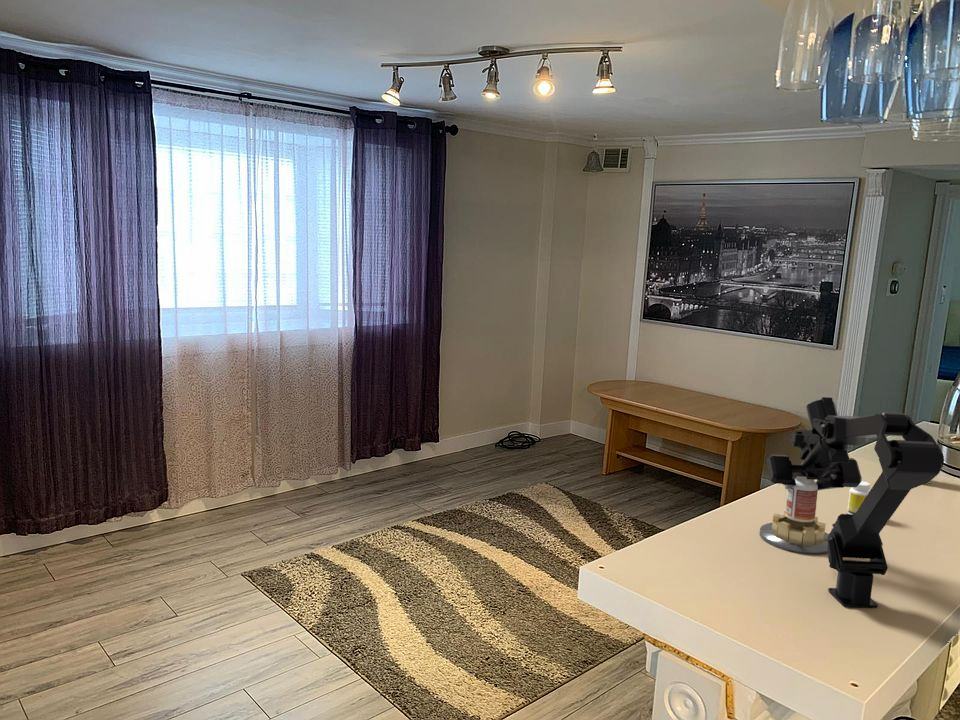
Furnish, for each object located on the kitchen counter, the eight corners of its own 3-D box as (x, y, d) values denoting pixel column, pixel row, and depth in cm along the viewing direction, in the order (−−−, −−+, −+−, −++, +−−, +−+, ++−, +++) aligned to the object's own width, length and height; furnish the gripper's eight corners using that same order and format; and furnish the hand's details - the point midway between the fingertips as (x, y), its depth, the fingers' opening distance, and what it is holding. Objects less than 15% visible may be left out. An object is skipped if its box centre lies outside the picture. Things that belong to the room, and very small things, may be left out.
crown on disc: (849, 555, 157) (852, 534, 157) (776, 553, 157) (779, 532, 156) (815, 527, 173) (817, 507, 172) (748, 525, 173) (750, 506, 172)
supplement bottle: (870, 519, 180) (874, 486, 178) (850, 517, 180) (853, 484, 179) (864, 512, 184) (868, 480, 183) (844, 510, 185) (848, 478, 184)
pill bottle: (819, 519, 164) (825, 472, 162) (806, 525, 160) (811, 477, 158) (793, 511, 168) (798, 465, 167) (779, 516, 165) (784, 469, 163)
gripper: (861, 423, 156) (834, 458, 169) (773, 419, 157) (752, 454, 170) (875, 469, 150) (845, 502, 162) (783, 465, 150) (760, 498, 163)
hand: (800, 487), depth 164 cm, fingers closed on pill bottle, 6 cm apart
